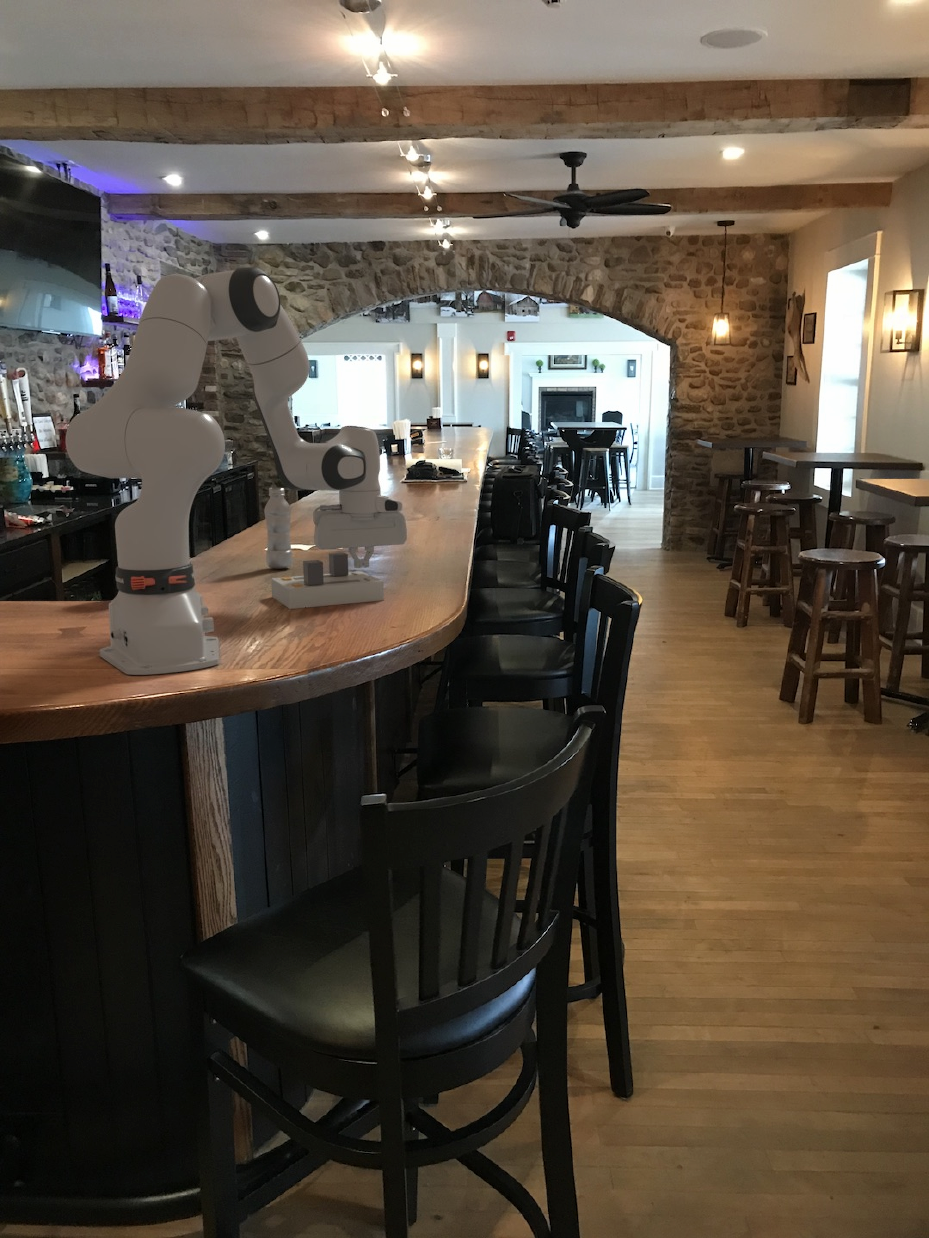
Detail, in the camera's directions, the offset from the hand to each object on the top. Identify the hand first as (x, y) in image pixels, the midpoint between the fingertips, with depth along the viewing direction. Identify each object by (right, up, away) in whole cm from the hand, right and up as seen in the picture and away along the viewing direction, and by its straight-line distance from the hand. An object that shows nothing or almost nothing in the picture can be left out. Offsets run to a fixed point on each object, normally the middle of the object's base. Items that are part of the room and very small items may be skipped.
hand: (361, 567), depth 202 cm
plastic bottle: (-24, +1, +31) cm, 39 cm away
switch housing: (-7, -7, -6) cm, 11 cm away
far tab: (-5, -2, -2) cm, 5 cm away
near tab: (-8, -4, -12) cm, 15 cm away
